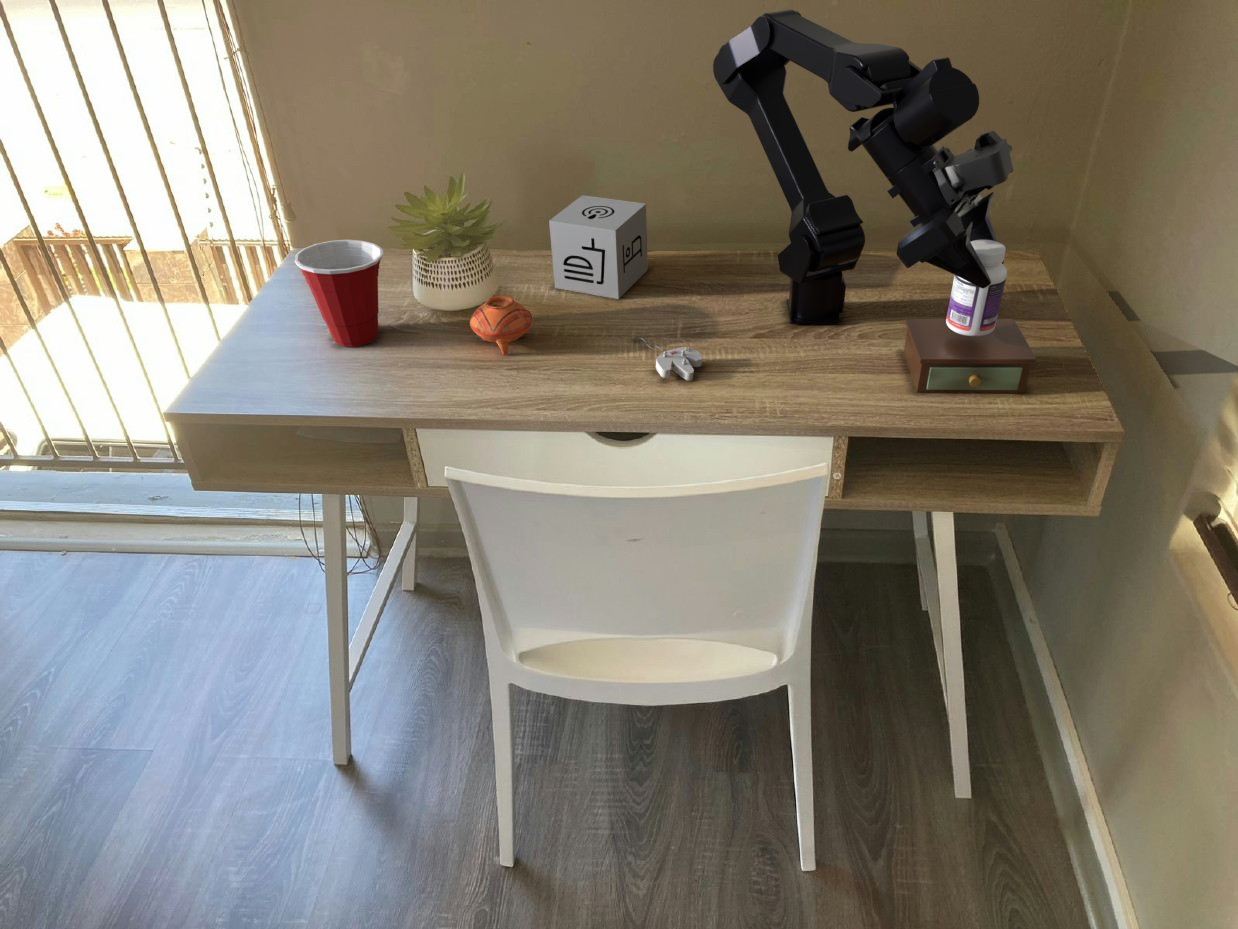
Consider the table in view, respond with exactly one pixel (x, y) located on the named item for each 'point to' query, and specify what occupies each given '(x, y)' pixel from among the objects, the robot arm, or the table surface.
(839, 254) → the robot arm
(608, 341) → the table surface
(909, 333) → the cabinet
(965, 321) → the pill bottle
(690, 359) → the game controller
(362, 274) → the plastic cup
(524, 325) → the pot
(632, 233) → the icon cube
